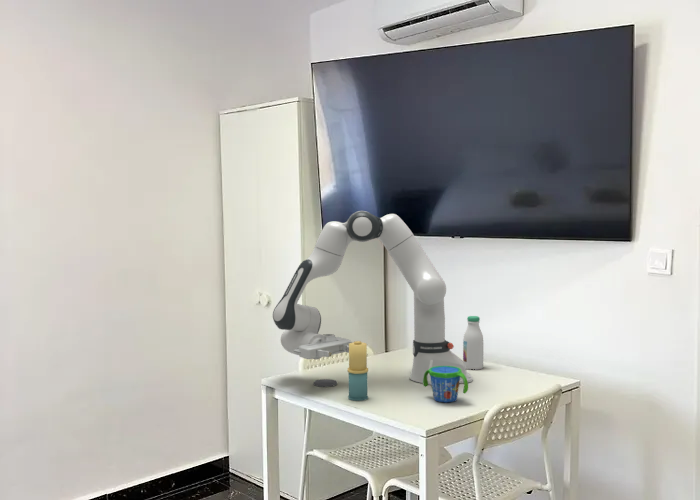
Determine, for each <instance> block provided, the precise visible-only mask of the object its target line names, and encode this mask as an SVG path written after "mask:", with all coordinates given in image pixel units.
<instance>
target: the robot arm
mask: <svg viewBox="0 0 700 500" xmlns="http://www.w3.org/2000/svg"><path fill="white" fill-rule="evenodd" d="M374 239H375V240H376V239H377V240H379V241H380V242H381V244H382V245H383V246H384V248H385V249H386V251H387V252H388V254H389V255H390V257H391V259H392V260H393V261H394V264H395V265H396V266H397V268H398V269H399V271H400V272H401V274H402V275H403V278H404V279H405V281H406V282H407V284H408V285H409V288H410V289H411V290H412V292H413V317H414V318H413V319H414V321H413V324H414V325H413V328H414V330H413V334H414V335H413V336H414V337H413V338H414V339H413V340H412V355H413V359H412V360H413V362H412V367H411V372H410V376H409V379H410V380H411V381H413V382H417V383H422V384H423V378H424V374H425V372H426V371H427V370H429V369H430V368H431V367H435V366H454V367H458V368H460V369H461V372H462V373H463V374H464V375H465V376H466V379H467V382H468V383H471V382H473V376H472V374H471V373H469V372H467V369H466V367H465V364H464V362H463V359H461V358H460V357H459V356H458V355H457V354H455V353H454V352H452V351H451V350H452V349H453V350H454V347H455V346H454V344H453V343H452V342H450V341H448V340H446V317H445V316H446V314H445V296H446V293H447V285H446V283H445V281H444V280H443V278H442V276H441V274H440V273H439V271H438V270H437V269H436V267H435V265H434V264H433V262H432V261H431V259H430V258H429V256H428V254H427V253H426V251H425V250H424V248H423V247H422V246H421V244H420V242H419V241H418V239H417V238H416V237H415V235H414V233H413V232H412V230H411V229H410V228H409V226H408V225H407V224H406V223H405V222H404V220H403V219H402V218H401V217H400V216H399V215H397V214H396V213H389V214H388V213H387V214H386V215H384V216H382V217H378V216H376V215H374V214H373V213H371V212H369V211H365V210H358V211H356V212H354V213H352V214H350V216H349V218H348V219H346V221H345V222H341V221H336V220H335V221H329V222H327V223H326V224H324V226H323V228H322V230H321V231H320V234H319V235H318V238H317V240H316V243H315V244H314V248H313V250H312V252H311V253H310V254H309V256H308V257H307V258H306V259H305V260H302V262H301V263H300V264H299V265H298V267H297V269H296V270H295V272H294V274H293V275H292V277H291V280H290V282H289V284H288V285H287V287H286V290H285V291H284V294H283V296H282V297H281V298H280V300H279V301H278V302H277V304H276V306H275V307H274V309H273V312H272V319H273V323H274V324H275V326H276V327H277V328H278V329H279V330H284V331H283V332H282V333H281V336H280V343H281V346H282V348H283V349H284V350H285V351H287V352H288V353H291V354H293V355H296V356H299V357H300V358H302V359H306V360H319V359H321V358H323V357H324V358H330V357H332V356H334V355H337V354H338V355H339V354H342V353H346V354H347V353H348V354H349V343H353V341H351V339H347V338H345V337H341V336H340V337H339V336H336V335H335V334H334V333H333V334H331V333H326V334H321V333H319V331H320V329H321V326H322V325H321V324H322V316H321V313H320V311H319V310H318V308H317V307H314V306H310V305H304V304H300V303H298V302H299V300H300V298H301V297H302V295H303V293H304V291H305V289H306V287H307V285H308V284H309V283H310V282H311V281H313V280H315V279H318V278H322V277H327V276H331V275H333V274H334V273H337V271H338V270H339V269H340V267H341V265H342V262H343V260H344V256H345V253H346V251H347V249H348V246H349V245H350V243H352V242H354V241H355V242H359V243H364V242H369V241H371V240H374ZM427 381H428V385H431V386H432V384H431V377H430V374H429V373H428V375H427ZM459 384H464V382H463V379H462V378H461V377H460V381H459Z"/></svg>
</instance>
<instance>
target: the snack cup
mask: <svg viewBox="0 0 700 500" xmlns="http://www.w3.org/2000/svg"><path fill="white" fill-rule="evenodd" d="M428 373H429V374H430V377H431V384H432V385H431V389H432V396H433V399H434V401H436V402H439V403H452V402H456V401H457V399H458V396H459V395H458V394H459V387H460V383H459V381H460V377H461V378H462V379H463V382H464V383H463V391H462V394H466V393H467V392H468V390H469V384H468V383H469V382H467V379H466V376H465V375H464V374H463V373H462V372H461V369H460V368H458V367H454V366H435V367H431V368H430V369H429V370H427V371H426V372H425V374H424V378H423V383H422V384H423V387H428V386H429V384H428V381H427V375H428Z"/></svg>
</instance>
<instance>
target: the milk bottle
mask: <svg viewBox="0 0 700 500" xmlns="http://www.w3.org/2000/svg"><path fill="white" fill-rule="evenodd" d="M480 319H481V318H480V317H479V316H478V315H469V316H467V319H466V320H467V327H466V329H465V332H464V334H463V339H462V341H463V342H462V343H463V345H462V346H463V347H462V351H463V352H462V355H463V356H462V361H463V362H464V364H465V367H466V370H471V369H473V370H472V371H477V370H482V369H483V368H484V335H483V333H482V331H481V327H480V321H481V320H480ZM474 369H475V370H474Z"/></svg>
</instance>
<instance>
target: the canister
mask: <svg viewBox="0 0 700 500" xmlns="http://www.w3.org/2000/svg"><path fill="white" fill-rule="evenodd" d="M347 398H348V400H349V401H355V402H360V401H361V402H363V401H367V400H368V399H369V395H368V372H366V373H361V374H354V373H349V372H348V396H347Z"/></svg>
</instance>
